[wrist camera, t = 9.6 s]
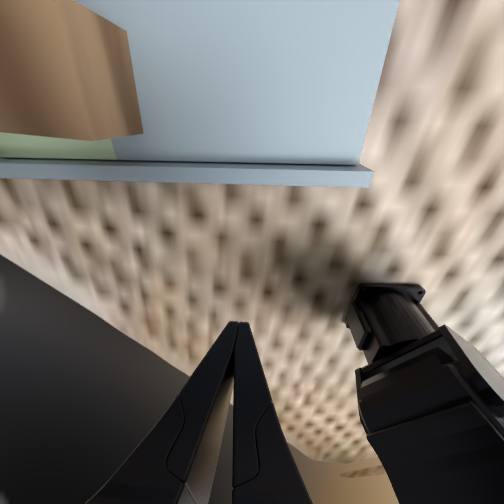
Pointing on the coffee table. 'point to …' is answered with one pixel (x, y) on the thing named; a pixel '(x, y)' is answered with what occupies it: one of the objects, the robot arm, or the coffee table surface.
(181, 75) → the trap box
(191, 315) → the coffee table surface
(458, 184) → the coffee table surface
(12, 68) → the block
